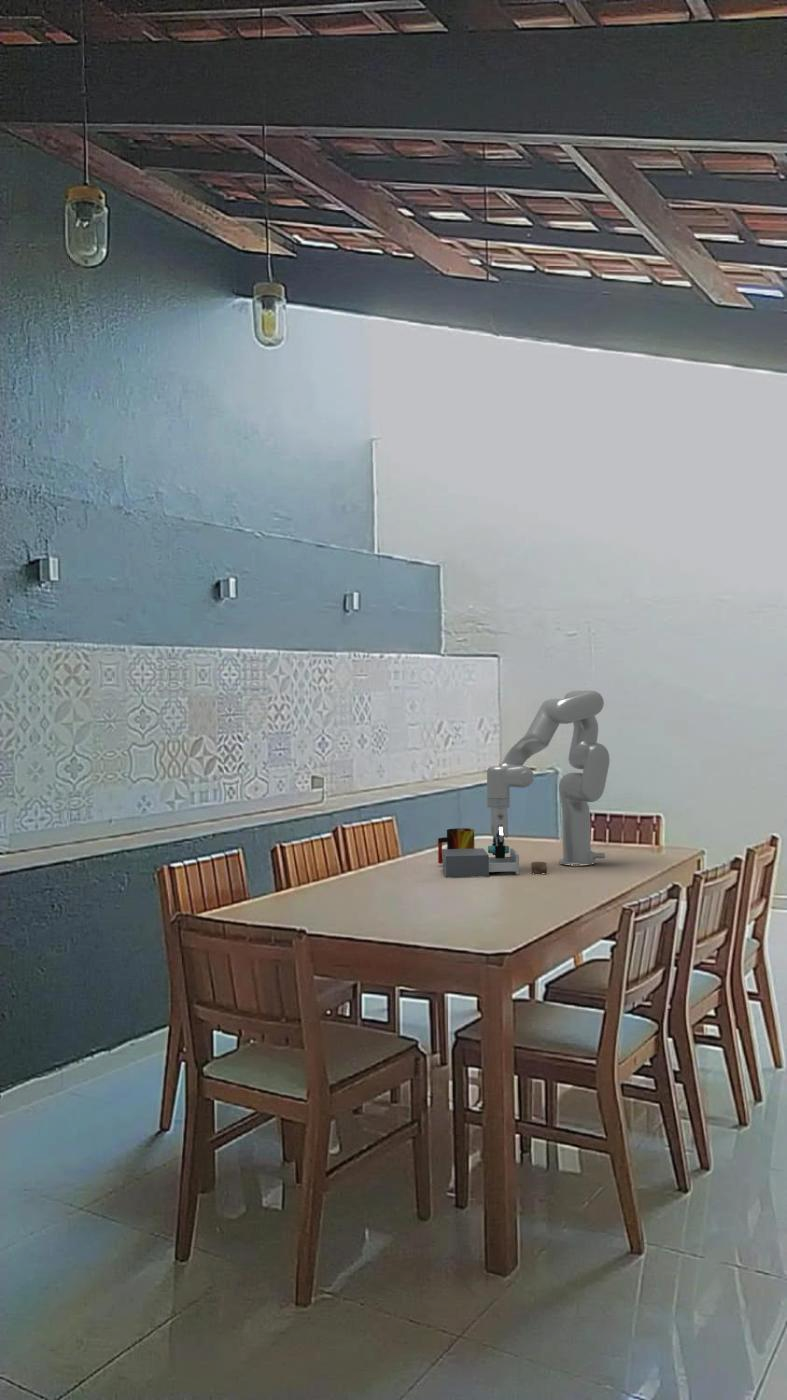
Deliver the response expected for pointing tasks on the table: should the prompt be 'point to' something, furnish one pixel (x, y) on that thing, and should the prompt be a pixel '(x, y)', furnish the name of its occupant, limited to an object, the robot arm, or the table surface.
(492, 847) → the disc
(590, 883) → the table surface
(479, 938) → the table surface
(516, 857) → the grey drawer
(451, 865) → the housing
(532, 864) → the brown short rounded cylinder
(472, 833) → the mug
